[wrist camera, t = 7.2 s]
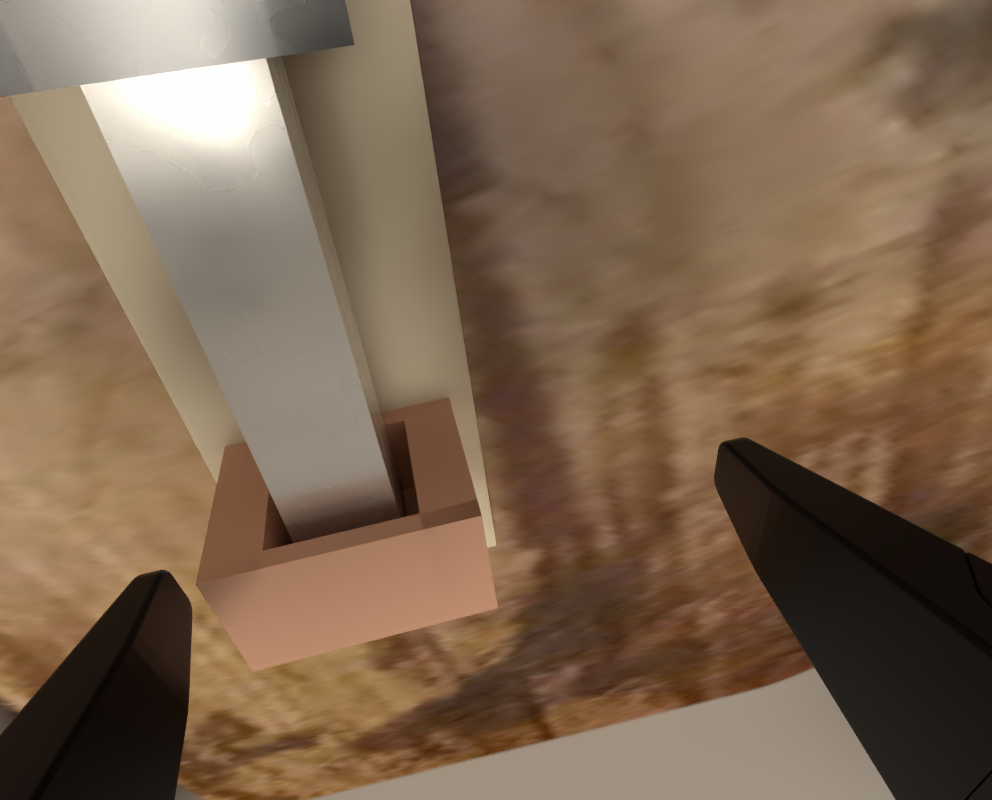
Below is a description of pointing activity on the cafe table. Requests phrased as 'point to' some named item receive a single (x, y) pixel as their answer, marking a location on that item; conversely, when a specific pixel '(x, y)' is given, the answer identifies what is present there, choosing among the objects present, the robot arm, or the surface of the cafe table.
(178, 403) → the base board
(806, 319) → the cafe table surface
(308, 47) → the grey sleeve
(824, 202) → the cafe table surface
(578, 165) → the cafe table surface
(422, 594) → the terracotta socket
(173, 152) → the silver rectangular bar
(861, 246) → the cafe table surface
